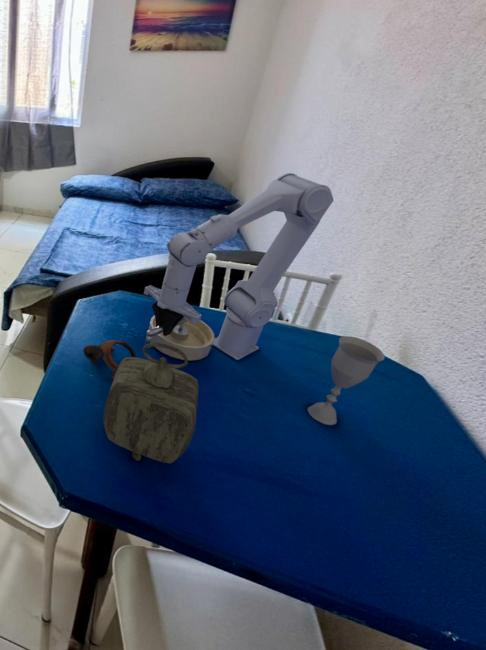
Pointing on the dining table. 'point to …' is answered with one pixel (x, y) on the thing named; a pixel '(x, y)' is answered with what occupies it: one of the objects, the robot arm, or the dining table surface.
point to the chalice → (347, 373)
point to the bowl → (187, 341)
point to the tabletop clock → (152, 407)
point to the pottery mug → (106, 353)
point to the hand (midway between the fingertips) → (163, 331)
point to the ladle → (178, 332)
